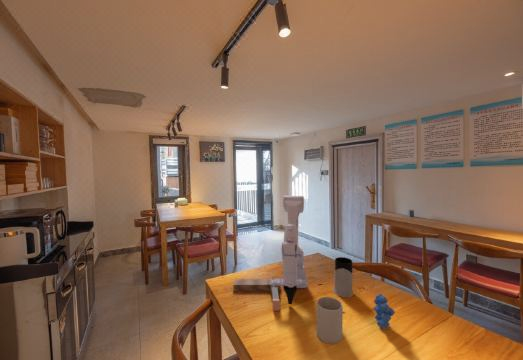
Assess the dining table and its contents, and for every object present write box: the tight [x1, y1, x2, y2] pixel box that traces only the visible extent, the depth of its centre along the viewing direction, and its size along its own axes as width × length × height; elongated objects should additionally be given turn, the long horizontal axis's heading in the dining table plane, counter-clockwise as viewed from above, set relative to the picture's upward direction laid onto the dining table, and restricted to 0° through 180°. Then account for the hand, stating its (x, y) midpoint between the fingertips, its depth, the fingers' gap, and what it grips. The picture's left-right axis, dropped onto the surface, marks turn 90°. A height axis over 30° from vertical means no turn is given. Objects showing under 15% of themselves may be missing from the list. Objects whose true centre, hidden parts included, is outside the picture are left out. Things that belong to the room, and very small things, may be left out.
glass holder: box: [332, 256, 354, 298], centre depth 110 cm, size 9×14×15 cm, turn 158°
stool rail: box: [232, 277, 281, 292], centre depth 110 cm, size 22×10×5 cm, turn 90°
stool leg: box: [270, 285, 281, 312], centre depth 101 cm, size 15×3×4 cm, turn 0°
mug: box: [315, 296, 344, 345], centre depth 81 cm, size 12×8×11 cm
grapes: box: [373, 293, 396, 329], centre depth 83 cm, size 12×7×12 cm, turn 169°
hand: (289, 302), depth 97 cm, fingers closed
